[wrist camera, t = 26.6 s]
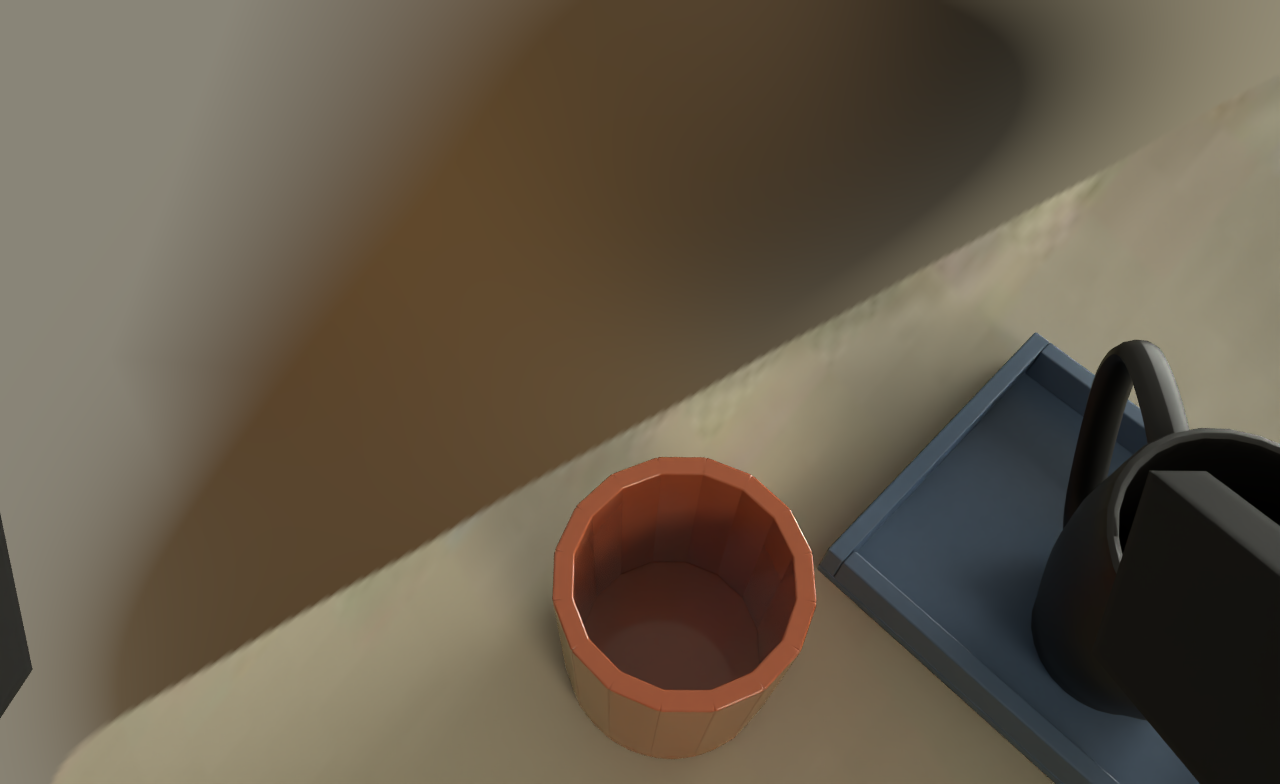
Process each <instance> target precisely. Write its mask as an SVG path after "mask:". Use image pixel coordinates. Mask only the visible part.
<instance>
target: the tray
mask: <svg viewBox="0 0 1280 784" xmlns="http://www.w3.org/2000/svg"><path fill="white" fill-rule="evenodd" d="M1048 343H1049V342H1048V341H1047V340H1046V339H1045V338H1043V337H1042V336H1041V335H1039V334H1038V333H1034V334H1033V335H1032V336H1031V337H1030V338H1029V339H1028V340H1027V341H1026V342H1025V343H1024V344H1023V346H1022V347H1021V348H1020V349H1019V350H1018V351H1017V352H1016V353H1015V354H1014V355H1013V356H1012V357H1011V358H1010V359H1009V360H1008V361H1007V362H1006V363H1005V364H1004V365H1003V366H1002V368H1001V369H1000V370H999V371H998V372H997V373H996V374H995V375H994V376H993V377H992V378H991V379H990V380H989V381H988V382H987V383H986V384H985V385H984V386H983V387H982V388H981V389H980V391H979V392H978V393H977V394H976V395H975V396H974V397H973V398H972V399H971V400H970V401H969V402H968V403H967V404H966V405H965V406H964V407H963V408H962V409H961V410H960V411H959V413H958V414H957V415H956V416H955V417H954V418H953V419H952V420H951V421H950V422H949V423H948V424H947V425H946V426H945V427H944V428H943V429H942V430H941V431H940V432H939V433H938V435H937V436H936V437H935V438H934V439H933V440H932V441H931V442H930V443H929V444H928V445H927V446H926V447H925V448H924V449H923V450H922V451H921V452H920V453H919V454H918V455H917V456H916V458H915V459H914V460H913V461H912V462H911V463H910V464H909V465H908V466H907V467H906V468H905V469H904V470H903V471H902V472H901V473H900V474H899V475H898V476H897V477H896V478H895V480H894V481H893V482H892V483H891V484H890V485H889V486H888V487H887V488H886V489H885V490H884V491H883V492H882V493H881V494H880V495H879V496H878V497H877V498H876V499H875V500H874V502H873V503H872V504H871V505H870V506H869V507H868V508H867V509H866V510H865V511H864V512H863V513H862V514H861V515H860V516H859V517H858V518H857V519H856V520H855V521H854V522H853V524H852V525H851V526H850V527H849V528H848V529H847V530H846V531H845V532H844V533H843V534H842V535H841V536H840V537H839V538H838V539H837V540H836V541H835V542H834V543H833V544H832V545H831V547H830V548H829V549H828V551H827V552H826V554H825V556H824V558H823V559H822V561H821V563H820V564H819V566H818V570H819V571H820V572H822V573H823V574H824V575H825V576H826V577H827V578H828V579H829V580H830V581H832V582H833V583H834V584H835V585H836V586H837V587H838V588H839V589H840V590H841V591H843V592H844V593H845V594H846V595H847V596H848V597H849V598H850V599H851V600H853V601H854V602H855V603H856V604H857V605H858V606H859V607H860V608H861V609H863V610H864V611H865V612H866V613H867V614H868V615H869V616H870V617H871V618H873V619H874V620H875V621H876V622H877V623H878V624H879V625H880V626H881V627H883V628H884V629H885V630H886V631H887V632H888V633H889V634H890V635H891V636H893V637H894V638H895V639H896V640H897V641H898V642H899V643H900V644H901V645H903V646H904V647H905V648H906V649H907V650H908V651H909V652H910V653H911V654H913V655H914V656H915V657H916V658H917V659H918V660H919V661H920V662H921V663H922V664H924V665H925V666H926V667H927V668H928V669H929V670H930V671H931V672H932V673H934V674H935V675H936V676H937V677H938V678H939V679H940V680H941V681H942V682H944V683H945V684H946V685H947V686H948V687H949V688H950V689H951V690H952V691H954V692H955V693H956V694H957V695H958V696H959V697H960V698H961V699H962V700H964V701H965V702H966V703H967V704H968V705H969V706H970V707H971V708H972V709H974V710H975V711H976V712H977V713H978V714H979V715H980V716H981V717H982V718H984V719H985V720H986V721H987V722H988V723H989V724H990V725H991V726H992V727H994V728H995V729H996V730H997V731H998V732H999V733H1000V734H1001V735H1002V736H1004V737H1005V738H1006V739H1007V740H1008V741H1009V742H1010V743H1011V744H1012V745H1013V746H1015V747H1016V748H1017V749H1018V750H1019V751H1020V752H1021V753H1022V754H1023V755H1025V756H1026V757H1027V758H1028V759H1029V760H1030V761H1031V762H1032V763H1033V764H1035V765H1036V766H1037V767H1038V768H1039V769H1040V770H1041V771H1042V772H1043V773H1045V774H1046V775H1047V776H1048V777H1049V778H1050V779H1051V780H1052V781H1053V782H1055V783H1056V784H1200V783H1199V782H1198V781H1197V780H1196V779H1195V777H1194V776H1193V775H1192V774H1191V773H1190V771H1189V770H1188V769H1187V768H1186V767H1185V765H1184V764H1183V763H1182V762H1181V761H1180V759H1179V758H1178V757H1177V756H1176V755H1175V753H1174V752H1173V751H1172V750H1171V749H1170V747H1169V746H1168V745H1167V744H1166V743H1165V741H1164V740H1163V739H1162V738H1161V737H1160V735H1159V734H1158V733H1157V732H1156V730H1155V729H1154V728H1153V727H1152V726H1151V724H1150V723H1149V722H1148V721H1146V720H1141V719H1137V718H1133V717H1129V716H1124V715H1113V714H1109V713H1105V712H1101V711H1097V710H1095V709H1093V708H1091V707H1088V706H1086V705H1084V704H1082V703H1080V702H1078V701H1077V700H1076V699H1074V698H1073V697H1072V696H1070V695H1069V694H1068V693H1066V692H1065V691H1064V690H1063V689H1062V688H1061V687H1060V686H1059V685H1058V684H1057V683H1056V682H1055V681H1054V680H1053V679H1052V677H1051V676H1050V675H1049V673H1048V672H1047V670H1046V669H1045V667H1044V665H1043V664H1042V662H1041V661H1040V658H1039V656H1038V653H1037V650H1036V648H1035V645H1034V641H1033V635H1032V629H1031V621H1032V610H1033V607H1034V603H1035V600H1036V597H1037V594H1038V590H1039V586H1040V583H1041V579H1042V576H1043V573H1044V570H1045V567H1046V564H1047V561H1048V558H1049V556H1050V553H1051V551H1052V548H1053V546H1054V544H1055V543H1056V541H1057V539H1058V537H1059V535H1060V533H1061V532H1062V530H1063V514H1064V505H1065V498H1066V493H1067V487H1068V482H1069V477H1070V472H1071V468H1072V463H1073V459H1074V454H1075V450H1076V445H1077V441H1078V437H1079V433H1080V428H1081V424H1082V420H1083V416H1084V412H1085V408H1086V404H1087V400H1088V397H1089V393H1090V389H1091V386H1092V383H1093V380H1094V377H1095V375H1094V374H1092V373H1091V372H1090V371H1088V370H1087V369H1086V368H1084V367H1083V366H1082V365H1080V364H1079V363H1077V362H1076V361H1075V360H1073V359H1072V358H1071V357H1069V356H1068V355H1067V354H1065V353H1064V352H1062V351H1061V350H1060V349H1058V348H1057V347H1056V346H1054V345H1053V344H1052V343H1049V344H1048ZM1146 444H1147V438H1146V432H1145V427H1144V423H1143V418H1142V414H1141V410H1140V408H1139V407H1137V406H1136V405H1135V404H1133V403H1132V402H1131V401H1129V400H1128V401H1127V404H1126V407H1125V410H1124V413H1123V417H1122V420H1121V424H1120V427H1119V431H1118V435H1117V439H1116V443H1115V446H1114V450H1113V455H1112V459H1111V463H1110V467H1109V472H1108V477H1109V476H1110V475H1111V474H1112V473H1113V472H1114V471H1115V470H1116V469H1117V468H1119V467H1120V466H1121V465H1122V464H1123V463H1124V462H1125V461H1126V460H1128V459H1129V458H1130V457H1131V456H1132V455H1133V454H1135V453H1136V452H1137V451H1138V450H1139V449H1141V448H1142V447H1143V446H1144V445H1146Z"/></svg>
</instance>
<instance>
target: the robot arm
mask: <svg viewBox="0 0 1280 784" xmlns="http://www.w3.org/2000/svg"><path fill="white" fill-rule="evenodd" d="M1091 653H1092V655H1093V656H1094V657H1095V658H1096V659H1097V661H1098V662H1099V663H1100V664H1101V665H1102V667H1103V668H1104V669H1105V670H1106V671H1107V673H1108V674H1109V675H1110V676H1111V677H1112V679H1113V680H1114V681H1115V682H1116V684H1117V685H1118V686H1119V687H1120V688H1121V690H1122V691H1123V692H1124V693H1125V694H1126V696H1127V697H1128V698H1129V699H1130V700H1131V702H1132V703H1133V704H1134V705H1135V706H1136V708H1137V709H1138V710H1139V711H1140V712H1141V714H1142V715H1143V716H1144V717H1145V718H1146V720H1147V721H1148V722H1149V723H1150V724H1151V726H1152V727H1153V728H1154V729H1155V730H1156V732H1157V733H1158V734H1159V735H1160V737H1161V738H1162V739H1163V740H1164V741H1165V743H1166V744H1167V745H1168V746H1169V747H1170V749H1171V750H1172V751H1173V752H1174V753H1175V755H1176V756H1177V757H1178V758H1179V759H1180V761H1181V762H1182V763H1183V764H1184V765H1185V767H1186V768H1187V769H1188V770H1189V771H1190V773H1191V774H1192V775H1193V776H1194V777H1195V779H1196V780H1197V781H1198V782H1199V783H1200V784H1280V526H1279V525H1278V524H1276V523H1275V522H1274V521H1272V520H1271V519H1270V518H1268V517H1267V516H1266V515H1264V514H1263V513H1262V512H1260V511H1259V510H1258V509H1256V508H1255V507H1254V506H1252V505H1251V504H1250V503H1248V502H1247V501H1246V500H1244V499H1243V498H1242V497H1240V496H1239V495H1238V494H1236V493H1235V492H1233V491H1232V490H1231V489H1229V488H1228V487H1227V486H1225V485H1224V484H1223V483H1221V482H1220V481H1219V480H1217V479H1216V478H1215V477H1213V476H1212V475H1211V474H1209V473H1208V472H1207V471H1149V474H1148V477H1147V480H1146V483H1145V486H1144V489H1143V492H1142V495H1141V499H1140V502H1139V505H1138V508H1137V511H1136V514H1135V517H1134V521H1133V524H1132V527H1131V530H1130V533H1129V536H1128V539H1127V542H1126V546H1125V549H1124V552H1123V555H1122V558H1121V561H1120V564H1119V568H1118V571H1117V574H1116V577H1115V580H1114V583H1113V586H1112V589H1111V593H1110V596H1109V599H1108V602H1107V605H1106V608H1105V611H1104V614H1103V618H1102V621H1101V624H1100V627H1099V630H1098V633H1097V636H1096V640H1095V643H1094V646H1093V649H1092V652H1091ZM31 671H32V665H31V660H30V655H29V651H28V646H27V641H26V636H25V631H24V626H23V622H22V617H21V612H20V607H19V602H18V598H17V593H16V588H15V583H14V578H13V573H12V568H11V564H10V559H9V554H8V549H7V544H6V539H5V535H4V530H3V525H2V520H1V515H0V718H1V716H2V715H3V713H4V712H5V710H6V709H7V707H8V706H9V704H10V703H11V701H12V700H13V698H14V697H15V695H16V694H17V692H18V691H19V689H20V688H21V686H22V685H23V683H24V682H25V680H26V679H27V677H28V675H29V674H30V672H31Z"/></svg>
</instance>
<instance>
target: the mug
mask: <svg viewBox="0 0 1280 784" xmlns="http://www.w3.org/2000/svg"><path fill="white" fill-rule="evenodd" d="M1133 385H1134V388H1135V391H1136V395H1137V398H1138V402H1139V406H1140V410H1141V414H1142V418H1143V423H1144V427H1145V432H1146V438H1147V444H1146V445H1144V446H1143V447H1142V448H1141V449H1139V450H1138V451H1137V452H1136V453H1135V454H1133V455H1132V456H1131V457H1130V458H1129V459H1128V460H1126V461H1125V462H1124V463H1123V464H1122V465H1121V466H1120V467H1119V468H1117V469H1116V470H1115V471H1114V472H1113V473H1112V474H1111V475H1110V476H1109V477H1108V472H1109V467H1110V463H1111V459H1112V455H1113V450H1114V446H1115V443H1116V439H1117V435H1118V431H1119V427H1120V424H1121V420H1122V417H1123V413H1124V410H1125V407H1126V404H1127V401H1128V398H1129V395H1130V392H1131V389H1132V387H1133ZM1149 471H1207V472H1208V473H1209V474H1211V475H1212V476H1213V477H1215V478H1216V479H1217V480H1219V481H1220V482H1221V483H1223V484H1224V485H1225V486H1227V487H1228V488H1229V489H1231V490H1232V491H1233V492H1235V493H1236V494H1238V495H1239V496H1240V497H1242V498H1243V499H1244V500H1246V501H1247V502H1248V503H1250V504H1251V505H1252V506H1254V507H1255V508H1256V509H1258V510H1259V511H1260V512H1262V513H1263V514H1264V515H1266V516H1267V517H1268V518H1270V519H1271V520H1272V521H1274V522H1275V523H1276V524H1278V525H1279V526H1280V444H1279V443H1276V442H1274V441H1271V440H1269V439H1266V438H1264V437H1262V436H1259V435H1254V434H1250V433H1245V432H1241V431H1236V430H1232V429H1213V428H1198V429H1192V430H1189V426H1188V422H1187V418H1186V414H1185V410H1184V406H1183V403H1182V399H1181V396H1180V392H1179V389H1178V386H1177V383H1176V380H1175V378H1174V375H1173V373H1172V370H1171V368H1170V366H1169V364H1168V362H1167V360H1166V358H1165V356H1164V354H1163V352H1162V351H1161V350H1160V348H1159V347H1157V346H1156V345H1154V344H1152V343H1151V342H1149V341H1144V340H1132V341H1127V342H1123V343H1121V344H1120V345H1118V346H1116V347H1114V348H1113V349H1111V350H1110V351H1109V352H1108V353H1107V355H1106V356H1105V357H1104V359H1103V360H1102V362H1101V364H1100V366H1099V368H1098V370H1097V372H1096V374H1095V377H1094V380H1093V383H1092V386H1091V389H1090V393H1089V397H1088V400H1087V404H1086V408H1085V412H1084V416H1083V420H1082V424H1081V428H1080V433H1079V437H1078V441H1077V445H1076V450H1075V454H1074V459H1073V463H1072V468H1071V472H1070V477H1069V482H1068V487H1067V493H1066V498H1065V505H1064V514H1063V530H1062V532H1061V533H1060V535H1059V537H1058V539H1057V541H1056V543H1055V544H1054V546H1053V548H1052V551H1051V553H1050V556H1049V558H1048V561H1047V564H1046V567H1045V570H1044V573H1043V576H1042V579H1041V583H1040V586H1039V590H1038V594H1037V597H1036V600H1035V603H1034V607H1033V610H1032V621H1031V629H1032V635H1033V641H1034V645H1035V648H1036V650H1037V653H1038V656H1039V658H1040V661H1041V662H1042V664H1043V665H1044V667H1045V669H1046V670H1047V672H1048V673H1049V675H1050V676H1051V677H1052V679H1053V680H1054V681H1055V682H1056V683H1057V684H1058V685H1059V686H1060V687H1061V688H1062V689H1063V690H1064V691H1065V692H1066V693H1068V694H1069V695H1070V696H1072V697H1073V698H1074V699H1076V700H1077V701H1078V702H1080V703H1082V704H1084V705H1086V706H1088V707H1091V708H1093V709H1095V710H1097V711H1101V712H1105V713H1109V714H1113V715H1124V716H1129V717H1133V718H1137V719H1141V720H1146V718H1145V717H1144V716H1143V715H1142V714H1141V712H1140V711H1139V710H1138V709H1137V708H1136V706H1135V705H1134V704H1133V703H1132V702H1131V700H1130V699H1129V698H1128V697H1127V696H1126V694H1125V693H1124V692H1123V691H1122V690H1121V688H1120V687H1119V686H1118V685H1117V684H1116V682H1115V681H1114V680H1113V679H1112V677H1111V676H1110V675H1109V674H1108V673H1107V671H1106V670H1105V669H1104V668H1103V667H1102V665H1101V664H1100V663H1099V662H1098V661H1097V659H1096V658H1095V657H1094V656H1093V655H1092V653H1091V652H1092V649H1093V646H1094V643H1095V640H1096V636H1097V633H1098V630H1099V627H1100V624H1101V621H1102V618H1103V614H1104V611H1105V608H1106V605H1107V602H1108V599H1109V596H1110V593H1111V589H1112V586H1113V583H1114V580H1115V577H1116V574H1117V571H1118V568H1119V564H1120V561H1121V558H1122V555H1123V552H1124V549H1125V546H1126V542H1127V539H1128V536H1129V533H1130V530H1131V527H1132V524H1133V521H1134V517H1135V514H1136V511H1137V508H1138V505H1139V502H1140V499H1141V495H1142V492H1143V489H1144V486H1145V483H1146V480H1147V477H1148V474H1149ZM1146 721H1147V720H1146Z"/></svg>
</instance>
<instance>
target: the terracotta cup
mask: <svg viewBox="0 0 1280 784" xmlns="http://www.w3.org/2000/svg"><path fill="white" fill-rule="evenodd" d="M552 600H553V606H554V611H555V616H556V621H557V626H558V631H559V636H560V641H561V647H562V652H563V657H564V662H565V667H566V670H567V673H568V676H569V679H570V681H571V684H572V688H573V691H574V693H575V695H576V697H577V700H578V703H579V705H580V706H581V708H582V710H583V711H584V712H585V713H586V715H587V716H588V717H589V719H590V720H591V721H592V722H593V724H594V725H595V726H596V727H597V728H598V729H599V730H600V731H601V732H603V733H604V734H605V735H606V736H607V737H609V738H610V739H611V740H613V741H614V742H616V743H617V744H619V745H621V746H623V747H625V748H627V749H628V750H631V751H633V752H636V753H639V754H642V755H645V756H650V757H655V758H664V759H679V758H688V757H693V756H698V755H701V754H704V753H706V752H709V751H712V750H714V749H716V748H718V747H720V746H722V745H724V744H725V743H727V742H728V741H730V740H732V739H733V738H735V737H736V736H737V735H738V734H739V732H740V731H741V730H742V729H744V728H745V727H746V725H747V724H748V723H749V722H750V720H751V719H752V718H753V717H754V716H755V715H756V714H757V713H758V712H759V711H760V709H761V708H762V707H763V705H764V704H765V702H766V701H767V699H768V698H769V697H770V695H771V694H772V692H773V691H774V689H775V688H776V686H777V685H778V684H779V682H780V681H781V679H782V678H783V676H784V675H785V673H786V672H787V670H788V669H789V668H790V666H791V665H792V663H793V662H794V660H795V659H796V657H797V656H798V655H799V653H800V651H801V649H802V646H803V644H804V641H805V638H806V635H807V632H808V629H809V626H810V623H811V620H812V617H813V614H814V611H815V608H816V602H817V598H816V587H815V575H814V563H813V555H812V551H811V549H810V547H809V545H808V543H807V541H806V539H805V537H804V535H803V533H802V531H801V529H800V527H799V525H798V523H797V521H796V519H795V517H794V516H793V514H792V512H791V510H790V509H789V508H788V507H787V506H786V505H785V504H784V503H783V502H782V501H781V500H780V499H778V498H777V497H776V496H775V495H774V494H773V493H772V492H771V491H769V490H768V489H767V488H766V487H765V486H764V485H763V484H762V483H760V482H759V481H758V480H757V479H756V478H755V477H753V476H752V475H751V474H748V473H745V472H743V471H740V470H738V469H735V468H732V467H730V466H727V465H724V464H722V463H719V462H717V461H714V460H711V459H709V458H701V457H658V459H657V458H654V459H651V460H649V461H646V462H643V463H641V464H638V465H635V466H632V467H630V468H627V469H624V470H622V471H619V472H616V473H614V474H613V475H610V476H609V477H608V478H607V479H606V480H604V481H603V482H602V483H601V484H600V485H599V486H598V487H597V488H596V489H594V490H593V491H592V492H591V493H590V494H589V495H588V496H587V497H586V498H584V499H583V500H582V501H581V502H580V503H579V504H578V505H577V506H576V508H575V509H574V511H573V513H572V515H571V517H570V520H569V522H568V524H567V526H566V528H565V530H564V532H563V534H562V536H561V538H560V540H559V543H558V545H557V547H556V549H555V553H554V572H553V596H552Z"/></svg>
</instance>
